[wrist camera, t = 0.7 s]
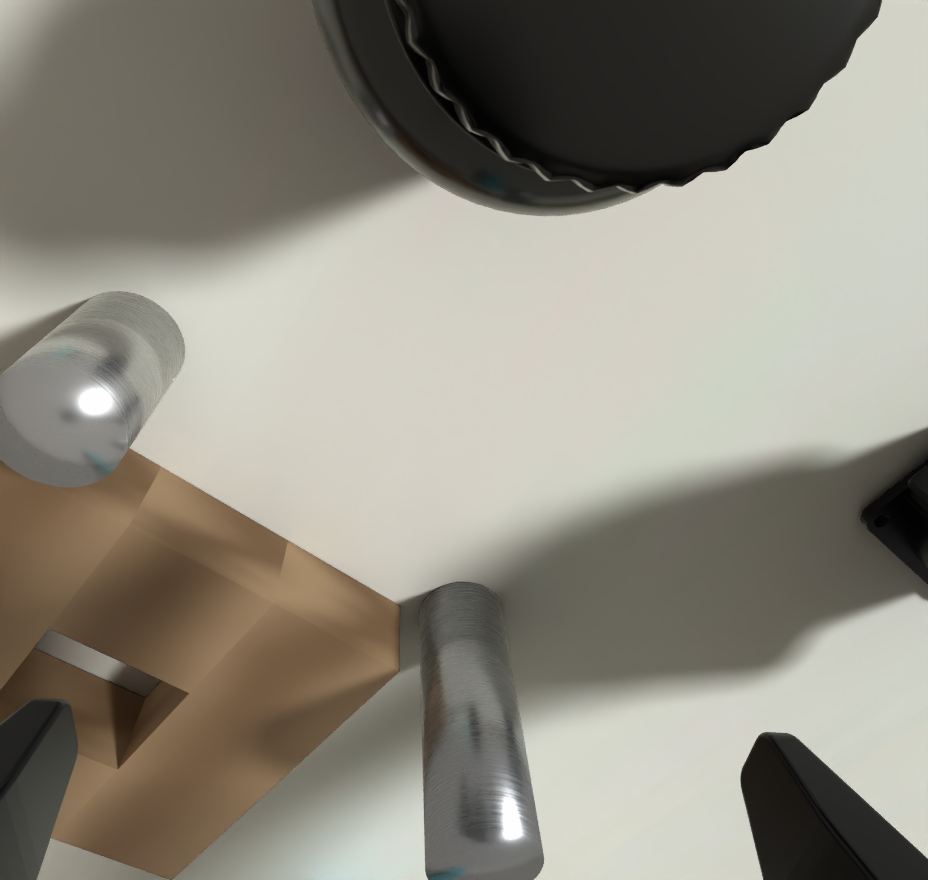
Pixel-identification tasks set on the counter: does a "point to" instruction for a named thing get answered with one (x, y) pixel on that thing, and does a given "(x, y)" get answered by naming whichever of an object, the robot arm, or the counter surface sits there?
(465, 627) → the long pin
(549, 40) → the supplement bottle
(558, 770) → the counter surface
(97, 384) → the short pin
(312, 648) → the hole block
